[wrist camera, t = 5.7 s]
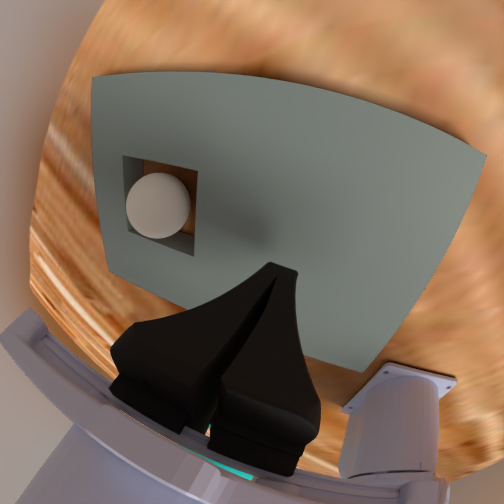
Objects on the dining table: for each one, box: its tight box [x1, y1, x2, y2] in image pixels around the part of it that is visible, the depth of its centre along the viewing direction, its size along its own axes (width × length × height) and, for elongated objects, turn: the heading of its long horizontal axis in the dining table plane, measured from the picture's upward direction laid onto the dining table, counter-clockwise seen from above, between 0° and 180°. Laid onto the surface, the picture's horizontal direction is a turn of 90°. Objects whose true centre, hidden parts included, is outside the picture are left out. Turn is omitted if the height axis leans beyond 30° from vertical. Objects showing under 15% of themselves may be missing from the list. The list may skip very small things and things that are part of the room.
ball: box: [126, 173, 191, 238], centre depth 16 cm, size 4×4×4 cm
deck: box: [91, 71, 487, 373], centre depth 16 cm, size 16×22×2 cm
